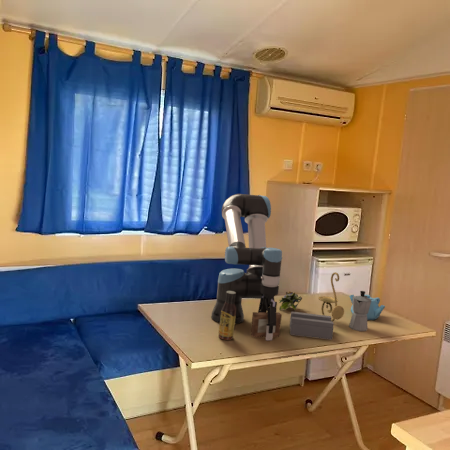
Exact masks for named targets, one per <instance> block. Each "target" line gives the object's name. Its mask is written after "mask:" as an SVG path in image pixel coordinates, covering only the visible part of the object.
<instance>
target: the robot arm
mask: <svg viewBox="0 0 450 450" xmlns="http://www.w3.org/2000/svg"><path fill="white" fill-rule="evenodd" d="M271 212H272V204H271V201H270V198H269V197H268V196H267V195H260V194H243V193H236V194H233V195H230V196H229V197H228V198H226V200H225V201H224V203H223V204H222V207H221V216H222V218H223V219H224V223H225V229H226V237H227V244H228V246H226V247H225V251H224V261H225V263H226V264H229V265H238V266H239V265H241V266H242V265H245V266H246V265H247V266H248V268H247V269H246V272H245V270H244V269H241V268H234V267H233V268H227V269H223V270H221V271H220V272H219V275H218V279H217V292H216V302H215V304H214V307H213V309H212V311H211V320H213V321H215V322H217V323H219V324H220V317H221V310H222V308H223V306H224V303H225V300H226V292H227V291H234V292H236V296H235V302H234V304H235V306H236V318H235V325H236V324H237V325H238V324H240V323H243V322H244V320H245V315H244V310H243V305H242V300H243V299H255V300H256V299H259V300H260V301H259V303H258V304H259V305H258V306H259V307H258V311H257V312H267V316H268V324H266V325H267V330H266V337H265V341H273V338H274V337H273V328H274V326H276V312H277V306H278V302H277V301H275V297H276V296H278V295H279V290H280V289H279V288H280V286H279V285H280V281H281V279H280V278H281V269H282V260H283V251H282V250H281V249H280V248H277V247H267V235H266V234H267V233H266V223H267V222H268V219H270V217H271V214H272V213H271ZM241 218H244V222H245V223H246V224H247V235H248V236H247V237H248V247H246V242H245V236H244V231H243V225H242V220H241Z"/></svg>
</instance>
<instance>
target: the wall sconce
mask: <svg viewBox="0 0 450 450" xmlns="http://www.w3.org/2000/svg"><path fill="white" fill-rule="evenodd" d="M334 276H336V277H337V278H335V279H334ZM333 280H335V282H339V280H340V275H339V273H338V272H333V273H331V276H330V285H331V288H332V293H333V296H334V297H332V296H325V295H324V296H323V295H321V296H318V300H319V301H321V302H322V304H321V315H325V312H324V307H326V309H328V308H329V307H330V309H328V310H326V311H327V313H329V314H330V313H331V318H332V319H331V321H332V322H333V323H334V321H335V320H340V319H342V318H343V317H344V314H345V309H344V308H343V306H341V305H338V302H339V300H338V299H337V293H336V290H335V285H334V281H333ZM325 304H326V305H325ZM332 304H334V307H333V305H332Z"/></svg>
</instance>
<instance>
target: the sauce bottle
mask: <svg viewBox="0 0 450 450" xmlns="http://www.w3.org/2000/svg"><path fill="white" fill-rule="evenodd" d="M235 296H236V292H234V291H227V292H226V300H225V303H224V306H223V308H222V310H221V317H220V323H219V327H218V337H219V339H221V340H224V341H230V340H232V339H233V338H234V333H235V325H236V324H235V318H236V306H235V304H234V302H235Z"/></svg>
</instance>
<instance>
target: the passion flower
mask: <svg viewBox="0 0 450 450" xmlns="http://www.w3.org/2000/svg"><path fill="white" fill-rule="evenodd" d="M302 300H303V296H300V295H298V294H297V293H296V292H293V291H286V292H285V295H283V296H281V299H278V302H279V304H281V305H280V306H279V311H282V310H287V309H289V308H290V307H291V308H292V309H294V311H293V312H296V310H297V307H298V305H299V304H300V302H301V301H302ZM295 303H297V304H295Z"/></svg>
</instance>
